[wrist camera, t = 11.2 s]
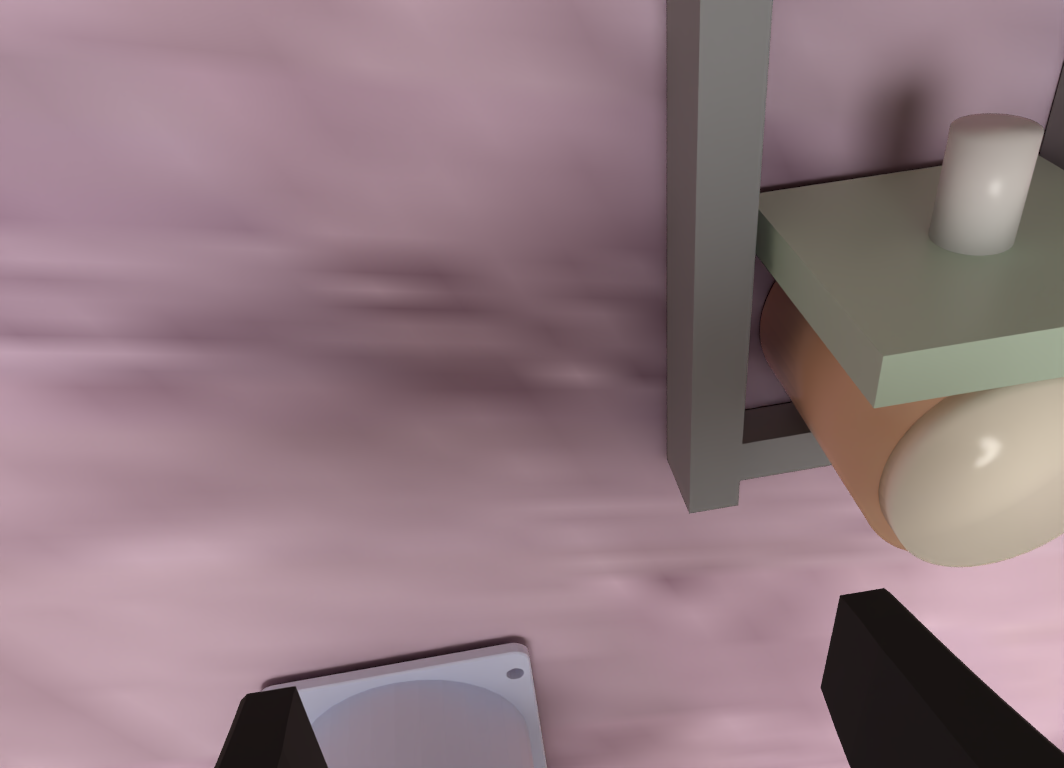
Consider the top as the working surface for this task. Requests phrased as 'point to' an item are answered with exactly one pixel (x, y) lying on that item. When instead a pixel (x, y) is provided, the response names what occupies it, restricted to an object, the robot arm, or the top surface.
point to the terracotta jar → (930, 452)
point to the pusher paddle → (931, 266)
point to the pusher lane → (727, 252)
